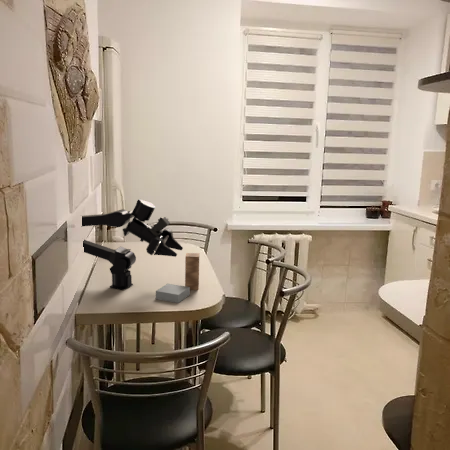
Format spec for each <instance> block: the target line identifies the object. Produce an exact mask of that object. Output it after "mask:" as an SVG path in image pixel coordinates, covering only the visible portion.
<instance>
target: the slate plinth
mask: <svg viewBox="0 0 450 450" xmlns="http://www.w3.org/2000/svg"><path fill="white" fill-rule="evenodd" d="M190 292H191V290H190V287H187V286H185V285H179V284H175V283H166V284H165V285H163V286H161V287H160V288H158V289H157V290H155V300H160V301H164V302H171V303H176V304H179V303H181V302H182V301H184V300H185V299H186V298H187V297H189V296H190Z"/></svg>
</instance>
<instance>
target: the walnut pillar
mask: <svg viewBox="0 0 450 450" xmlns="http://www.w3.org/2000/svg"><path fill="white" fill-rule="evenodd" d="M184 263H185V266H184V267H185V270H184V271H185V272H184V273H185V274H184V275H185V276H184V277H185V278H184V279H185V280H184V282H185V283H184V286H187V287H190V291H199V289H200V288H199V287H200V253H199V252H196V253H195V252H194V253H193V252H186V253H185V261H184Z"/></svg>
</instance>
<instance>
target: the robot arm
mask: <svg viewBox="0 0 450 450" xmlns="http://www.w3.org/2000/svg"><path fill="white" fill-rule="evenodd" d="M155 208H156V205H155V204H153V203H152V202H151V201H146V200H144V199H141V198H139V199H137V201H136V203H135V205H134V208H133V209H132V210H128V211H127V210H126V209H123V208H122V209H119V210H114V211H112V212H108V213H103V214H100V213H99V214H89V215H81V216H82V226H81V227H92V226H108V227H112V228H121V227H123V226H126V227H124V228H122V232H123V236H124V237H126V236H129V235H130V234H132V235H133V236H135V237H137V238H139V239H140V240H139V241H140V242H142V243H143V242H145V243H147V244H148V245H147V247H146V253H147V254H148V255H150V256H153V255H154V256H165V257H166V256H167V257H175V258H176V257H177V255H178V253H177V252H176V251H177V250H178V251H183V249H184V247H183V246H181V244H180V243H179V242H178V241H177V240H176V239H175V238H174V234H173V230H172V229H171V228H166V227H168V226H169V225H170V224H171V222H170V221H169V218H168V217H167V216H161V217H160V218H158V219H157V221H158V222H156V223H155V224H147V223H145V222H149V221H150V219H151V217H152V214H153V213H154V211H155ZM131 219H132V220H131ZM83 247H84V252H83V253H84V254H85V253H86V254H88V255H90V256H94V257H97V258H99V259H102V260H105V261H108V263H110V264H111V265H112V266H111V267H110V268H109V272H110V274H111V285H110V286H109V288H111V289H116V290H117V289H118V290H122V291H123V290H126V289H128V288H130V287H132V286H134V284H133V283H132V282H133V281H132V274H131V273H132V272H131V270H130V269H132V266H133V265H135V263H136V261H137V257H136V255H135V253H134V252H133V251H132V250H131V248H130V249H129V248H126V247H123V246H119V247H118V248H116V249H113V248H111V247H107V246H105V245H101V244H98V243H95V242H93V241H90V240H87V239H84V241H83ZM174 250H176V251H174Z"/></svg>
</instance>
